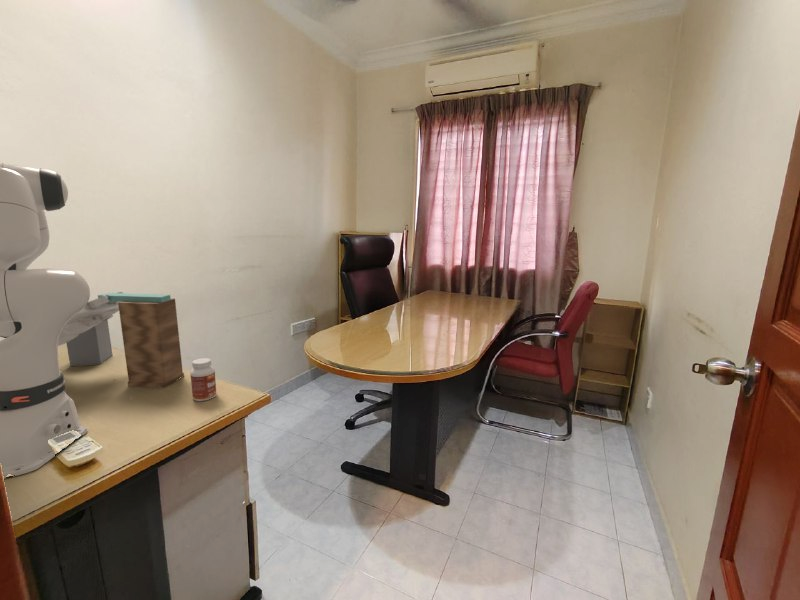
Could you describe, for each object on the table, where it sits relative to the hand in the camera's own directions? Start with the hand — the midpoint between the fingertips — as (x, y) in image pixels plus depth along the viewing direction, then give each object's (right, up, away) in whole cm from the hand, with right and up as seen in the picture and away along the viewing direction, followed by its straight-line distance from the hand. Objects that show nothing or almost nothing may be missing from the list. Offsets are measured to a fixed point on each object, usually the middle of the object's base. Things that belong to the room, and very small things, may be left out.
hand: (115, 295), depth 114 cm
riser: (-24, -23, +21) cm, 39 cm away
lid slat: (+6, -1, 0) cm, 6 cm away
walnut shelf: (+10, -27, +5) cm, 29 cm away
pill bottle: (+30, -30, -6) cm, 43 cm away
